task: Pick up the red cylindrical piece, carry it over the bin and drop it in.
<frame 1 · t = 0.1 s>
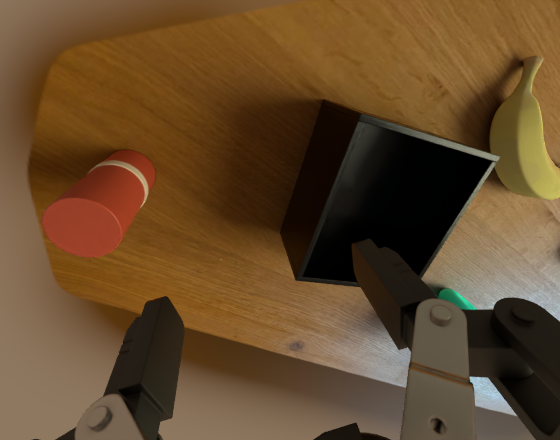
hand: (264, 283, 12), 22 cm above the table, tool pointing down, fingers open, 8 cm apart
banana: (526, 133, 36), on the table
pair of teal pieces: (430, 304, 51), on the table
bin: (353, 185, 36), on the table
red cylindrical piece: (131, 172, 30), on the table
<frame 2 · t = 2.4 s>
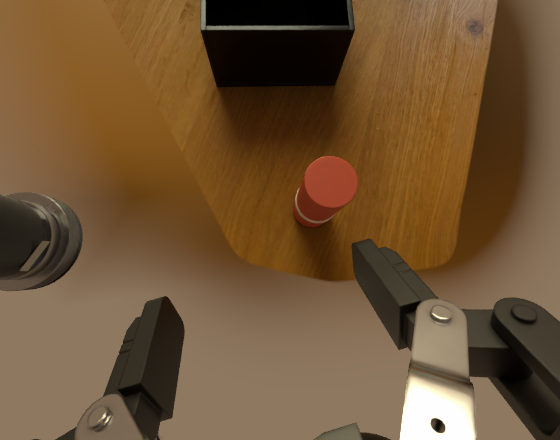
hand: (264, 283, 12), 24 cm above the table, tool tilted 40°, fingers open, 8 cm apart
bin: (274, 40, 41), on the table
red cylindrical piece: (311, 209, 37), on the table
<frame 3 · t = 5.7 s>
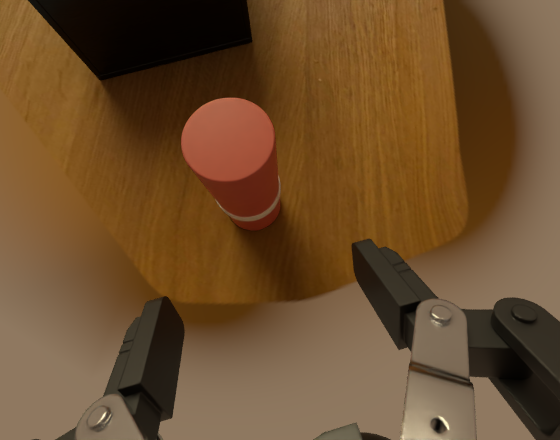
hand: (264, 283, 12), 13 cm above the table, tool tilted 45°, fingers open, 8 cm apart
bin: (165, 9, 32), on the table
red cylindrical piece: (254, 204, 26), on the table
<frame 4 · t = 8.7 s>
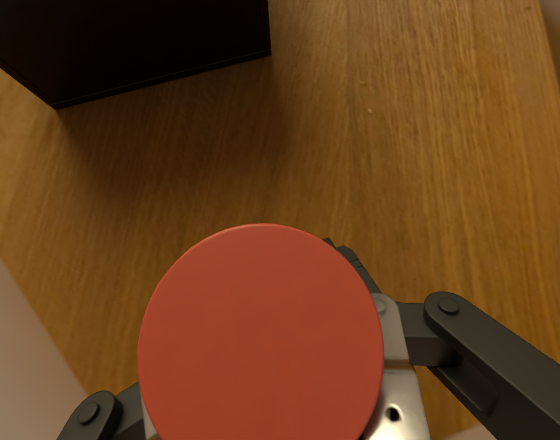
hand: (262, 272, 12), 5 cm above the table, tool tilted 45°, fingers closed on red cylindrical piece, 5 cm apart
bin: (149, 9, 23), on the table
red cylindrical piece: (278, 306, 17), on the table, touching gripper
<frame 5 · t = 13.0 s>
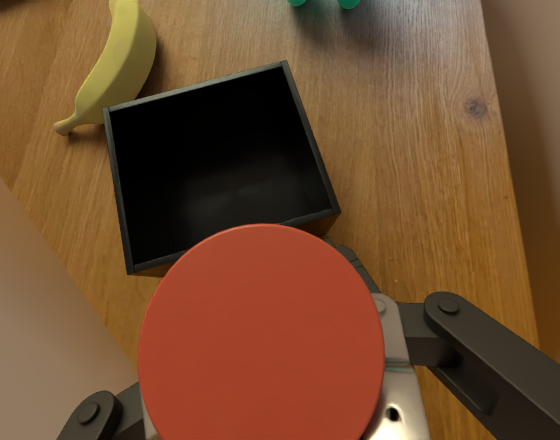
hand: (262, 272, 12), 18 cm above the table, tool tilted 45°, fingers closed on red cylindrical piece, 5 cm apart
banana: (112, 78, 37), on the table
bin: (235, 194, 32), on the table
red cylindrical piece: (277, 306, 17), point 13 cm above the table, touching gripper
when the fingers open (11 cm above the table, at t = 17.2 s): red cylindrical piece drops 5 cm, resting on bin.
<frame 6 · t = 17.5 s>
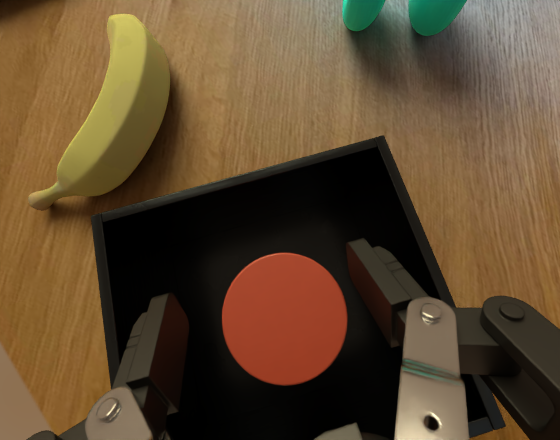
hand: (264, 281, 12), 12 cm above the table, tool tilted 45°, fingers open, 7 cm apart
banana: (110, 126, 28), on the table
pair of teal pieces: (386, 20, 30), on the table
bin: (281, 300, 23), on the table
red cylindrical piece: (286, 301, 22), point 1 cm above the table, touching bin
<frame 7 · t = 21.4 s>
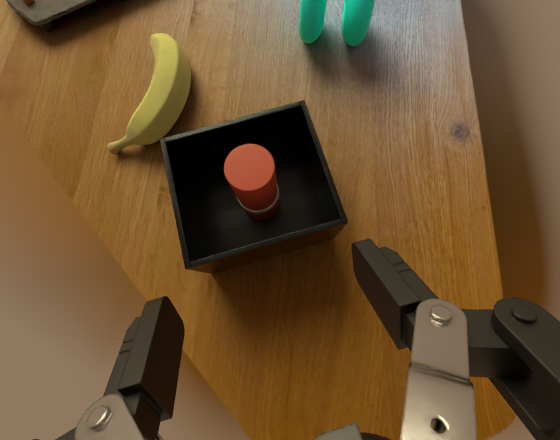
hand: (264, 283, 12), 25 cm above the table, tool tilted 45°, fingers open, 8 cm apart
banana: (152, 104, 44), on the table
pair of teal pieces: (330, 35, 46), on the table
bin: (258, 204, 39), on the table
red cylindrical piece: (261, 203, 38), point 1 cm above the table, touching bin
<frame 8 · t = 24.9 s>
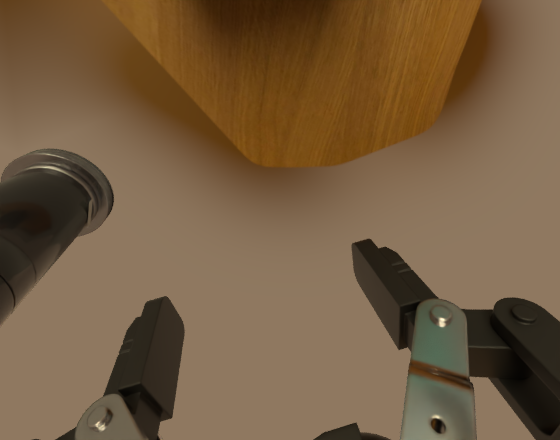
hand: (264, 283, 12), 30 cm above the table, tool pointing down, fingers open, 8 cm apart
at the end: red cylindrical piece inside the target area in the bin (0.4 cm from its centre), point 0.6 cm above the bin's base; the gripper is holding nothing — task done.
